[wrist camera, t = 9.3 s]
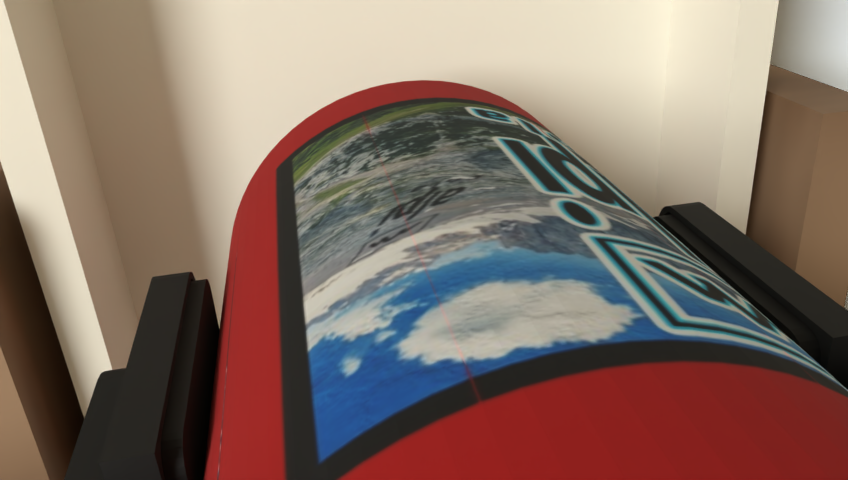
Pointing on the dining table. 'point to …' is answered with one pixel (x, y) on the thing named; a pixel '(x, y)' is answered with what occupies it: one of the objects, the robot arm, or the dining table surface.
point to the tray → (318, 87)
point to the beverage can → (488, 317)
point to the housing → (767, 226)
